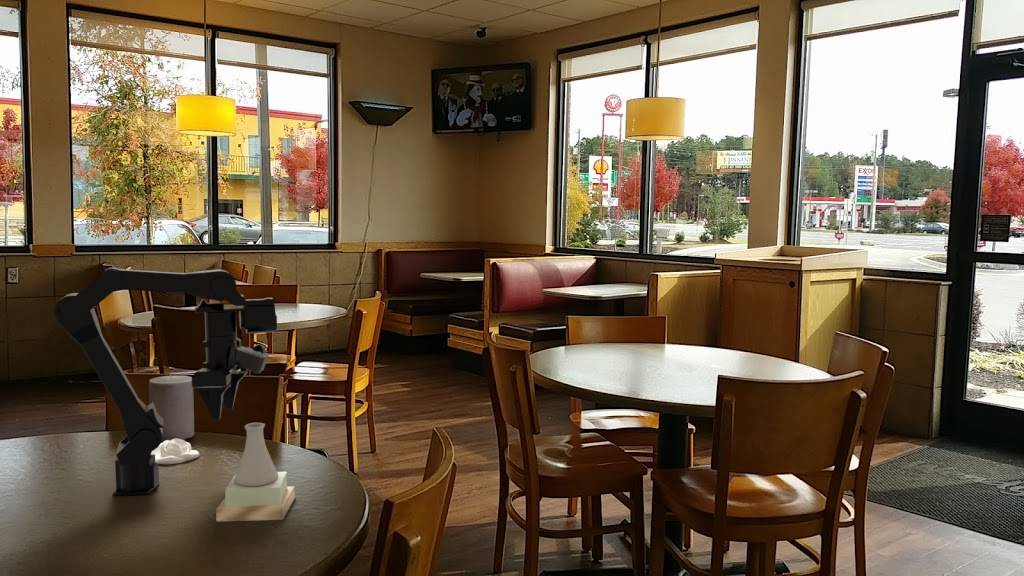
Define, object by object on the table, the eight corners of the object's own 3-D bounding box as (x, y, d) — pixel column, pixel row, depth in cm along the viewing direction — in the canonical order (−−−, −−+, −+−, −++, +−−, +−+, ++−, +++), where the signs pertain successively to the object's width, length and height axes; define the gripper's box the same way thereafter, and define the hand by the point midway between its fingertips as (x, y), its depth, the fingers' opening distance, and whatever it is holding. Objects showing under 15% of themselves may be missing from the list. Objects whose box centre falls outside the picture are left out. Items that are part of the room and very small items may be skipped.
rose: (154, 434, 178) (202, 431, 180) (155, 454, 178) (202, 451, 180) (145, 446, 168) (195, 443, 170) (146, 467, 168) (196, 464, 171)
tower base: (216, 526, 138) (216, 509, 137) (233, 503, 148) (233, 487, 148) (283, 524, 138) (282, 507, 138) (294, 502, 149) (294, 486, 149)
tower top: (225, 507, 138) (225, 490, 138) (235, 489, 147) (235, 473, 147) (280, 504, 139) (279, 487, 139) (287, 487, 148) (286, 471, 148)
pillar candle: (141, 441, 188) (139, 376, 186) (165, 430, 197) (164, 369, 196) (180, 443, 186) (178, 378, 185) (202, 432, 196) (201, 370, 194)
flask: (261, 489, 138) (259, 432, 137) (225, 485, 140) (223, 428, 139) (286, 476, 145) (284, 421, 144) (251, 472, 147) (249, 418, 146)
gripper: (252, 341, 149) (254, 425, 150) (274, 328, 167) (275, 403, 168) (189, 342, 148) (192, 426, 149) (218, 328, 166) (220, 404, 168)
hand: (223, 414), depth 159 cm, fingers open, 9 cm apart
